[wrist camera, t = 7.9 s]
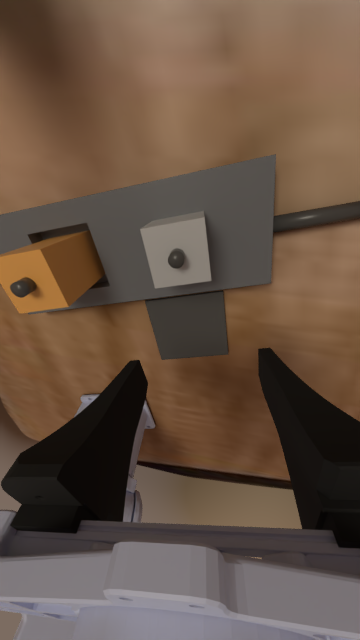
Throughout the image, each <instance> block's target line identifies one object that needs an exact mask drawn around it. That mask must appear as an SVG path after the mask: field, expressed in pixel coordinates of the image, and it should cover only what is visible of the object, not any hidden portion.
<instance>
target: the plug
mask: <svg viewBox="0 0 360 640" xmlns="http://www.w3.org/2000/svg"><path fill="white" fill-rule="evenodd" d="M105 274H106V273H105V271H104V268H103V265H102V262H101V260H100V257H99V254H98V251H97V249H96V246H95V243H94V241H93V238H92V235H91V232H90V230H88V231H83V232H78V233H73V234H68V235H63V236H58V237H53V238H49V239H46V240H43V241H40V242H37V243H34V244H31V245H28V246H25V247H22V248H19V249H16V250H13V251H10V252H7V253H4V254H1V255H0V284H1V285H2V287H3V288H4V290H5V291H6V293H7V294H8V296H9V298H10V299H11V301H12V302H13V304H14V305H15V307H16V309H17V310H18V312H19V313H20V314H21V313H28V312H35V311H43V310H50V309H57V308H64V307H69V306H70V305H71V304H73V303H74V302H75V301H76V300H77V299H78V298H79V297H80V296H81V295H83V294H84V293H85V292H86V291H87V290H88V289H89V288H90V287H91V286H93V285H94V284H95V283H96V282H97V281H98V280H99V279H100V278H101V277H103V276H104V275H105Z"/></svg>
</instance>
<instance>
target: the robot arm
mask: <svg viewBox="0 0 360 640" xmlns="http://www.w3.org/2000/svg"><path fill="white" fill-rule="evenodd" d="M258 356H259V378H260V382H261V386H262V390H263V393H264V396H265V399H266V401H267V404H268V407H269V409H270V412H271V415H272V417H273V420H274V423H275V425H276V428H277V431H278V434H279V437H280V441H281V445H282V449H283V452H284V456H285V460H286V464H287V467H288V471H289V475H290V479H291V483H292V487H293V491H294V495H295V499H296V504H297V508H298V512H299V516H300V521H301V525H302V529H284V528H260V527H237V526H211V525H187V524H162V523H141V517H142V501H141V497H140V493H139V492H138V491H137V490H135V488H136V483H137V480H135V479H133V477H134V472H135V468H136V464H137V460H138V455H139V451H140V447H141V442H142V438H143V434H144V430H145V429H153V428H155V423H154V420H153V418H152V415H151V412H150V410H149V407H148V405H147V402H146V400H145V399H146V393H147V386H148V382H147V379H146V377H145V374H144V371H143V369H142V366H141V363H140V361H139V360H134V361H130V362H129V363H128V364H127V365H126V366H125V367H124V368H123V369H122V371H121V372H120V373H119V374H118V375H117V376H116V377H115V379H114V380H113V381H112V382H111V383H110V384H109V385H108V386H107V387H106V388H105V389H104V391H103V392H102V393H101V394H95V395H82V396H81V398H80V399H81V401H82V404H81V406H80V407H79V409H78V411H77V413H76V415H75V416H74V418H73V419H71V420H70V421H69V422H68V423H66V424H65V425H64V426H62V427H61V428H60V429H58V430H57V431H55V432H54V433H52V434H51V435H49V436H48V437H46V438H45V439H43V440H42V441H40V442H39V443H37V444H35V445H34V446H32V447H30V448H29V449H27V450H26V451H24V452H22V453H20V455H19V456H18V458H17V459H16V461H15V462H14V464H13V465H12V467H11V468H10V469H9V471H8V472H7V474H6V475H5V477H4V478H3V480H2V482H1V486H2V488H3V490H4V491H5V492H6V493H8V494H9V495H10V496H11V497H13V498H14V499H15V500H17V501H18V502H19V503H21V504H22V505H21V507H20V508H19V510H18V512H16V511H13V510H0V610H2V611H9V612H16V613H21V615H22V619H21V622H20V624H19V626H18V628H17V631H16V633H15V635H14V638H13V640H360V422H359V421H358V420H356V419H354V418H353V417H351V416H350V415H348V414H346V413H345V412H343V411H342V410H340V409H339V408H337V407H336V406H334V405H333V404H331V403H330V402H328V401H327V400H326V399H324V398H323V397H322V396H320V395H319V394H318V393H316V392H315V391H314V390H313V389H311V388H310V387H309V386H308V385H307V384H306V383H304V382H303V381H302V380H301V379H300V378H299V377H298V376H297V375H296V374H295V373H293V372H292V371H291V370H290V369H289V368H288V367H287V366H286V365H285V364H284V363H283V362H282V360H281V359H280V358H279V357H278V356H277V355H276V354H275V353H274V352H273V350H272V349H271V348H262V349H258ZM245 556H247V557H245ZM251 557H262V559H257V558H251Z"/></svg>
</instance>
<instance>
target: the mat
mask: <svg viewBox="0 0 360 640" xmlns="http://www.w3.org/2000/svg"><path fill="white" fill-rule="evenodd" d="M145 303H146V307H147V310H148V314H149V317H150V321H151V324H152V327H153V331H154V334H155V338H156V341H157V345H158V348H159V352H160V355H161V359H162V360H165V359H177V358H190V357H202V356H214V355H227V354H228V346H227V333H226V321H225V309H224V297H223V290H222V291H215V292H207V293H199V294H191V295H183V296H176V297H168V298H160V299H152V300H146V301H145Z"/></svg>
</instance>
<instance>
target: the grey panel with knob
mask: <svg viewBox="0 0 360 640" xmlns="http://www.w3.org/2000/svg"><path fill="white" fill-rule="evenodd" d="M275 163H276V154H275V155H271V156H266V157H261V158H257V159H252V160H248V161H243V162H239V163H234V164H230V165H225V166H220V167H216V168H211V169H207V170H202V171H198V172H193V173H189V174H184V175H179V176H175V177H170V178H166V179H161V180H157V181H152V182H148V183H143V184H138V185H134V186H129V187H125V188H120V189H116V190H111V191H107V192H102V193H98V194H93V195H88V196H84V197H79V198H75V199H70V200H66V201H61V202H57V203H52V204H47V205H43V206H38V207H34V208H29V209H25V210H20V211H16V212H11V213H6V214H2V215H0V255H1V254H4V253H7V252H10V251H13V250H16V249H19V248H22V247H25V246H28V245H31V244H34V243H37V242H40V241H43V240H46V239H49V238H53V237H58V236H63V235H68V234H73V233H78V232H83V231H88V230H90V232H91V235H92V238H93V241H94V243H95V246H96V249H97V251H98V254H99V257H100V260H101V262H102V265H103V268H104V271H105V273H106V274H105V275H104V276H103V277H101V278H100V279H99V280H98V281H97V282H96V283H95V284H94V285H93V286H91V287H90V288H89V289H88V290H87V291H86V292H85V293H84V294H83V295H81V296H80V297H79V298H78V299H77V300H76V301H75V302H74V303H73V304H71V305H70V306H69V307H64V308H57V309H50V310H43V311H35V312H28V314H36V313H43V312H51V311H59V310H67V309H74V308H82V307H90V306H98V305H105V304H113V303H121V302H129V301H136V300H144V299H152V298H160V297H167V296H175V295H183V294H191V293H198V292H206V291H214V290H222V289H229V288H237V287H245V286H253V285H260V284H268V283H271V269H272V243H273V232H279V231H285V230H291V229H298V228H304V227H310V226H316V225H322V224H328V223H334V222H340V221H346V220H352V219H358V218H360V201H357V202H352V203H346V204H340V205H335V206H329V207H323V208H318V209H312V210H306V211H301V212H295V213H289V214H284V215H278V216H274V189H275Z"/></svg>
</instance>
